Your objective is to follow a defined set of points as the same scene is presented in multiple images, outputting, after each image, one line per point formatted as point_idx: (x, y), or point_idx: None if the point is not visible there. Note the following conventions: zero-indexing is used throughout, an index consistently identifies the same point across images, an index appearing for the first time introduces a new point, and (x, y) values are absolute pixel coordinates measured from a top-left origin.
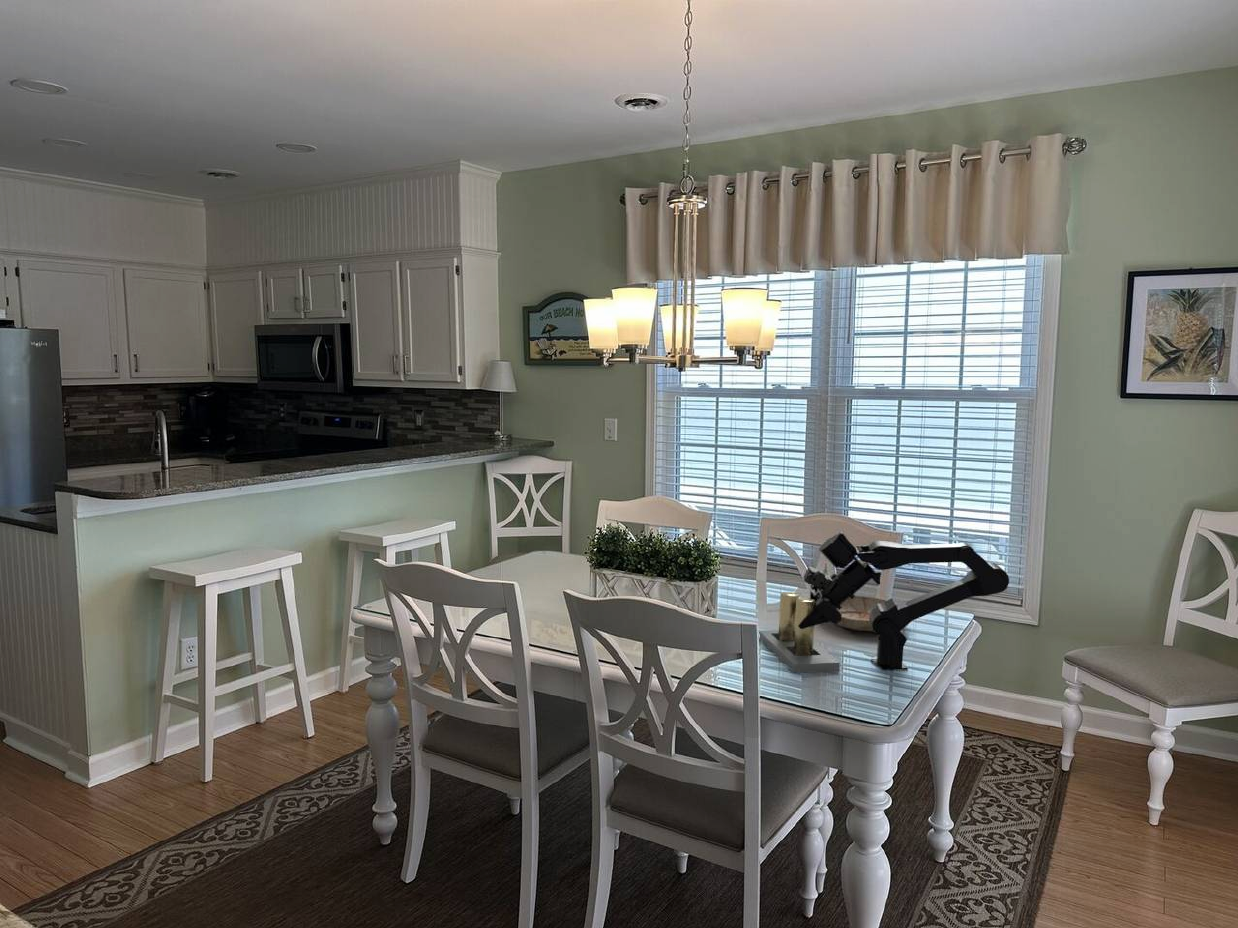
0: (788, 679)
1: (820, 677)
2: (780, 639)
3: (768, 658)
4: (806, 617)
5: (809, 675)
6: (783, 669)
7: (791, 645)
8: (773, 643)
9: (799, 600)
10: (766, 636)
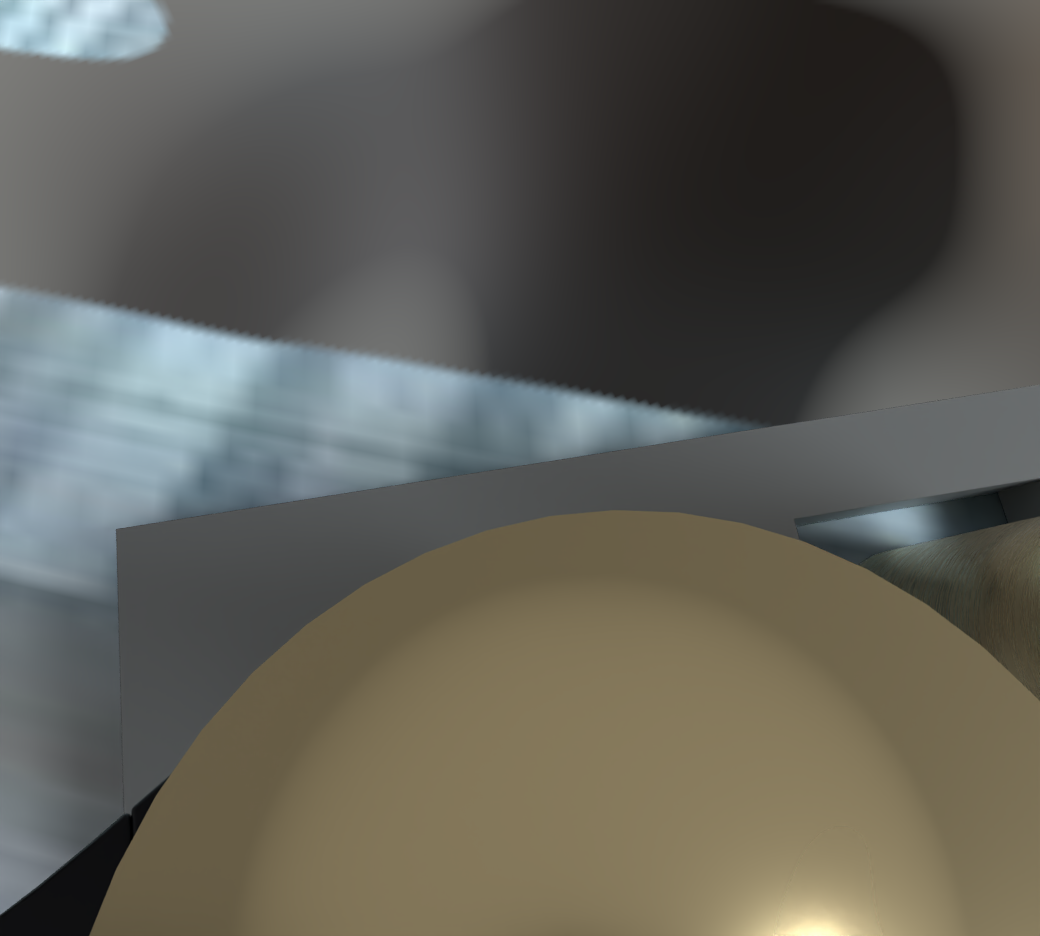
0: (9, 456)
1: (22, 772)
2: (902, 550)
3: (519, 389)
4: (156, 788)
5: (84, 672)
6: (248, 463)
7: None
8: (734, 443)
9: (639, 675)
10: (946, 415)
